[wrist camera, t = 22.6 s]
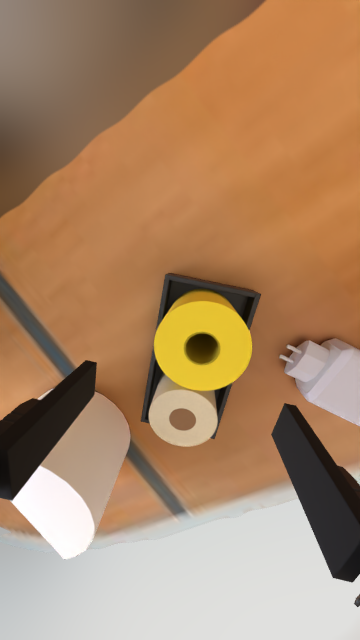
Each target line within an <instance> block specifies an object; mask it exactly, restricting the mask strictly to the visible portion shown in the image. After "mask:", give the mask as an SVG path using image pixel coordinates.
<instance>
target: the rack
mask: <svg viewBox="0 0 360 640" xmlns="http://www.w3.org/2000/svg"><path fill="white" fill-rule="evenodd" d="M194 289H210V290H213V291H216V292H218V293H220V294H221V295H223V296H224V297H225V298H226V299H227V300H228V301H229V302H230V304H231V305H232V306H233V308H234V309H235V310H236V312H237V313H238V314H239V316H240V317H241V318H242V320H243V321H244V322H245V324H246V326H247V327H248V330H250V327H251V324H252V321H253V317H254V314H255V311H256V308H257V305H258V302H259V299H260V296H261V294H260V293H258V292H256V291H254V290H250V289H245V288H240V287H235V286H230V285H226V284H221V283H216V282H211V281H206V280H201V279H197V278H192V277H187V276H182V275H177V274H173V273H168V274H166V275H165V280H164V286H163V292H162V298H161V304H160V310H159V316H158V322H157V328H156V331H157V329H158V327H159V325H160V323H161V322H162V320H163V319H164V317H165V316H166V314H167V313H168V311H169V309H170V308H171V306H172V305H173V303H174V302H175V301H176V300H177V299H178V298H179V297H180V296H181V295H182V294H184V293H186V292H188V291H191V290H194ZM162 374H163V371H162V369H161V368H160V366H159V364H158V362H157V359H156V356H155V352H154V346H153V351H152V357H151V363H150V369H149V375H148V381H147V387H146V393H145V399H144V405H143V411H142V417H141V422H146V423H150V422H149V409H150V406H151V403H152V400H153V397H154V394H155V392H156V389H157V386H158V383H159V380H160V377H161V375H162ZM232 383H233V382H232ZM232 383H230V384H229V385H227V386H225V387H222V388H219V389H215V390H214V391H215V400H216V409H217V418H218V423H217V428H216V430H215V432H214V434H213V435H212V436H211V437H210V438H212V439H215V436H216V433H217V429H218V426H219V423H220V420H221V417H222V414H223V411H224V408H225V405H226V401H227V398H228V395H229V392H230V389H231V386H232Z"/></svg>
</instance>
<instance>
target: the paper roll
mask: <svg viewBox="0 0 360 640" xmlns="http://www.w3.org/2000/svg"><path fill="white" fill-rule="evenodd" d="M149 422H150V425H151V427H152V429H153V430H154V432H155V433H156V434H157V435H158V436H159V437H160V438H161V439H163V440H164V441H166V442H168V443H170V444H173V445H177V446H184V447H189V446H195V445H199V444H201V443H203V442H205V441H207V440H208V439H209V438H210V437H211V436H212V435H213V434H214V432H215V430H216V428H217V423H218V418H217V409H216V400H215V391H214V390H210V391H198V390H192V389H188V388H185V387H183V386H180V385H178V384H177V383H175V382H174V381H172V380H171V379H170V378H169V377H168V376H167V375H166V374H165V373H164V372H163V374H162V375H161V377H160V380H159V383H158V386H157V389H156V392H155V394H154V397H153V400H152V403H151V406H150V409H149Z"/></svg>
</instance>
